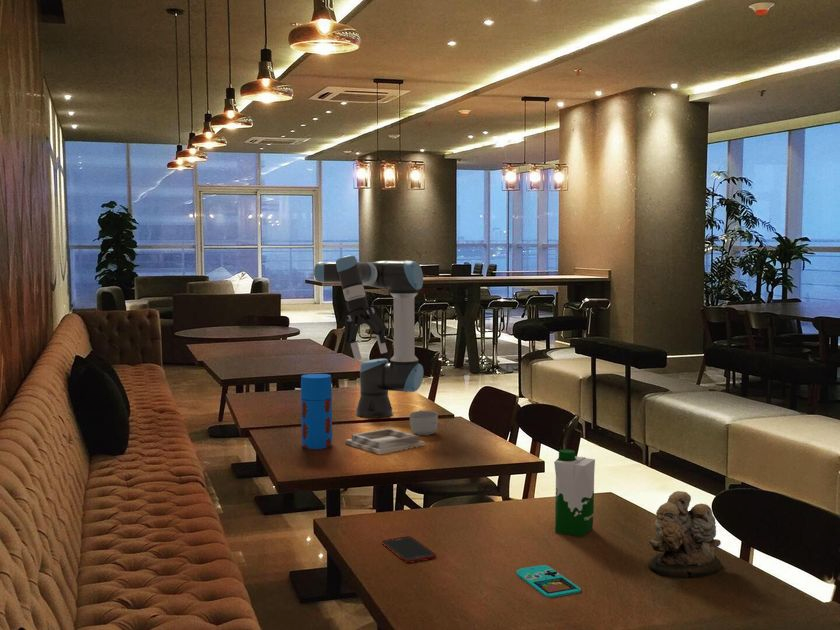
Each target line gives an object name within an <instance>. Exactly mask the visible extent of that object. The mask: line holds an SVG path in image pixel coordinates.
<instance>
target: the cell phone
mask: <svg viewBox="0 0 840 630" xmlns="http://www.w3.org/2000/svg"><path fill="white" fill-rule="evenodd" d="M392 539H393V540H392ZM386 540H387V541H386ZM382 542H383V543H384V544H385V545H387V546H388V547H389V548H390V549H391V550H393V551H394V552H395V553H397V554H398V555H399V556H400V557H401V558H403V560H405V561H407V562H411V561H418V560H422V559H429V558H430V559H432V558H435V557H436V558H437V554H436V553H435V552H433V550H430V549H429V548H427V546H425V545H423V544H422V543H421V542H419V541H418V540H417V539H416V538H414V537H412V536H402V537H395V538H389V539H384V540H382ZM382 542H381V543H382ZM390 549H389V550H390ZM436 558H435V559H436ZM403 560H402V561H403ZM422 561H423V560H422Z"/></svg>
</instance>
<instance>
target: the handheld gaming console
mask: <svg viewBox="0 0 840 630" xmlns="http://www.w3.org/2000/svg"><path fill="white" fill-rule="evenodd" d="M516 576H518V577H519V578H520V579H522V581H524V582H525V583H526V584H527V585H529V586H530V587H531V588H533V589H534V590H536V591H537V592H539V593H540V594H541V595H542V596H543V597H546V598H557V597H562V596H568V595H573V594H579V593H581V591H582V589H581V587H579V585H577V584H575V583H574V582H572V581H571V580H569V579H568V578H567V577H565V576H564V575H563V574H561V573H560V572H558V571H557V570H555V569H554V568H552V567H551V566H549V565H546V564H542V565H541V564H540V565H533V566H529V567H522V568H519V569H517V570H516ZM559 581H562V582H563V583H564V584H567V585H568V586H569V587H570V588H565V589H560V590H554V589H556V588H557V586H558V585H563V583H562V582H559ZM549 585H556V586H551V587H549ZM545 587H549V589H551V590H554V591H548V590H547V589H545Z"/></svg>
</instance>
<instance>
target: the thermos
mask: <svg viewBox="0 0 840 630" xmlns="http://www.w3.org/2000/svg"><path fill="white" fill-rule="evenodd" d="M300 379H301V380H300V400H301V401H300V403H301V404H300V408H301V409H300V412H301V413H300V414H301V417H300V418H301V420H300V423H301V445H302V446H303V447H302V448H305V449H308V448H309V450H320V449H327V448H330V447H331V446H332V445H333V444H332V443H333V442H332V441H333V439H332V438H333V407H332V406H333V405H332V403H333V401H332V399H333V398H332V391H333V390H332V388H333V387H332V384H333V383H332V375H331V374H328V373H308V374H303V375H301V378H300Z"/></svg>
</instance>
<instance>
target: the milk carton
mask: <svg viewBox="0 0 840 630" xmlns="http://www.w3.org/2000/svg"><path fill="white" fill-rule="evenodd" d="M553 463H554V471H555V503H554V504H555V517H554V518H555V525H554V526H555V527H554V531H555V533H557V534H562V535H567V536H572V537H578V538H583V537H584V536H586V535H587V534H588V533H589V532H591V531H592V530H593V527H594V510H595V509H594V508H595V505H594V504H595V471H596V469H595V467H596V459H595V458H589V457H588V458H587V457H584V456H578V455H577V456H576V451H575V450H574V449H571V448H570V449H569V448H562V449H559V450H558V458H557V459H556V460H555V461H554V462H553Z"/></svg>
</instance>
